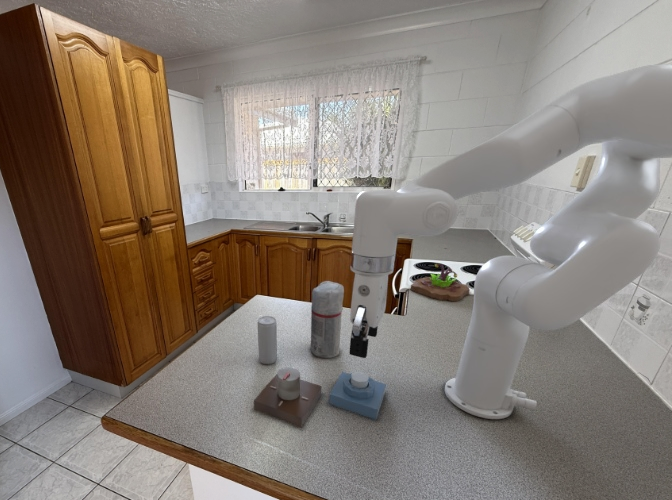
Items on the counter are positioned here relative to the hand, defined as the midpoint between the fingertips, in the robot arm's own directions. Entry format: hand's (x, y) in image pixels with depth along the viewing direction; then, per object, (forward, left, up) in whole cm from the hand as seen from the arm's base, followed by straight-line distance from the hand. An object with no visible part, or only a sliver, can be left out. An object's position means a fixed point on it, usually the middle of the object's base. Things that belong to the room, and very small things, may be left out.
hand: (363, 344), depth 63 cm
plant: (-12, -79, -14) cm, 81 cm away
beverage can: (+25, -4, -14) cm, 29 cm away
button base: (0, 0, -14) cm, 14 cm away
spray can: (+13, -15, -14) cm, 24 cm away
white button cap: (0, 0, -10) cm, 10 cm away
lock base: (+13, +8, -14) cm, 21 cm away
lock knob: (+13, +8, -11) cm, 19 cm away
